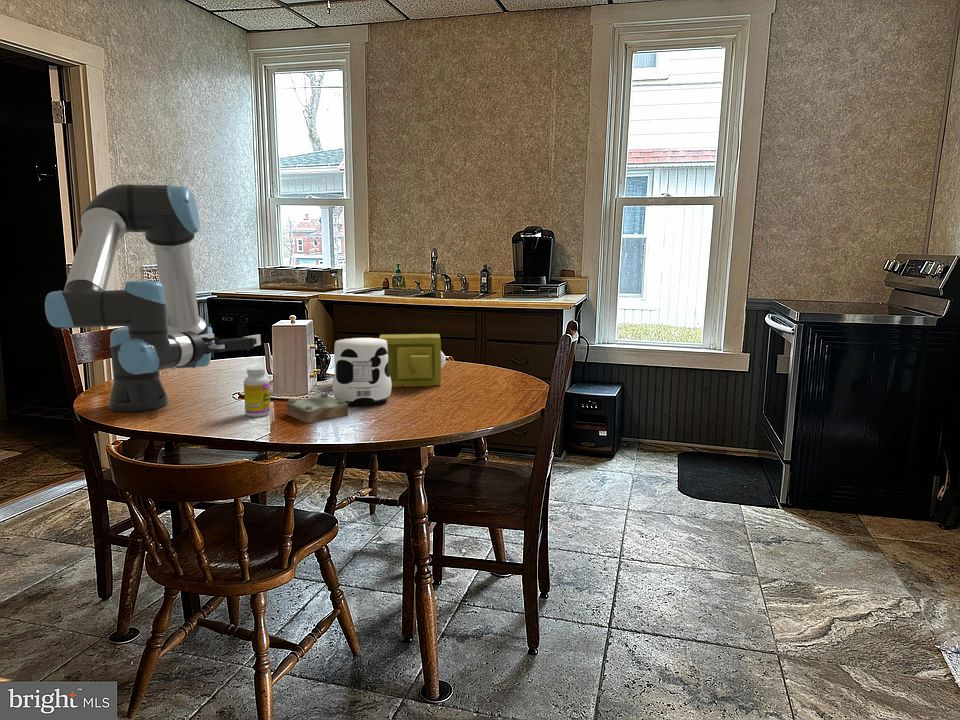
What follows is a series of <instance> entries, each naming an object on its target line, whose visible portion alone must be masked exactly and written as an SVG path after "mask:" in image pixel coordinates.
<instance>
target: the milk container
mask: <svg viewBox="0 0 960 720" xmlns="http://www.w3.org/2000/svg"><path fill="white" fill-rule="evenodd" d="M333 350H334V351H333V353H334V357H333V359H334V374H333V377H332V378H333V379H332V383H331V384H332V385H331V389H332V394H333V398H334V399H337V400H345V402H346V403H348V405H371V404H377V403H380V402H384V401H386V400H387V399H388V398H390V395H391V393H392V388H393V387H392V383H391V378H390V375H389V371H388V346H387V340H384V339H379V337H378V338H377V337H375V338H374V337H352V338H344V339H342V338H341V339H338V340H335V342H334V349H333Z"/></svg>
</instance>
